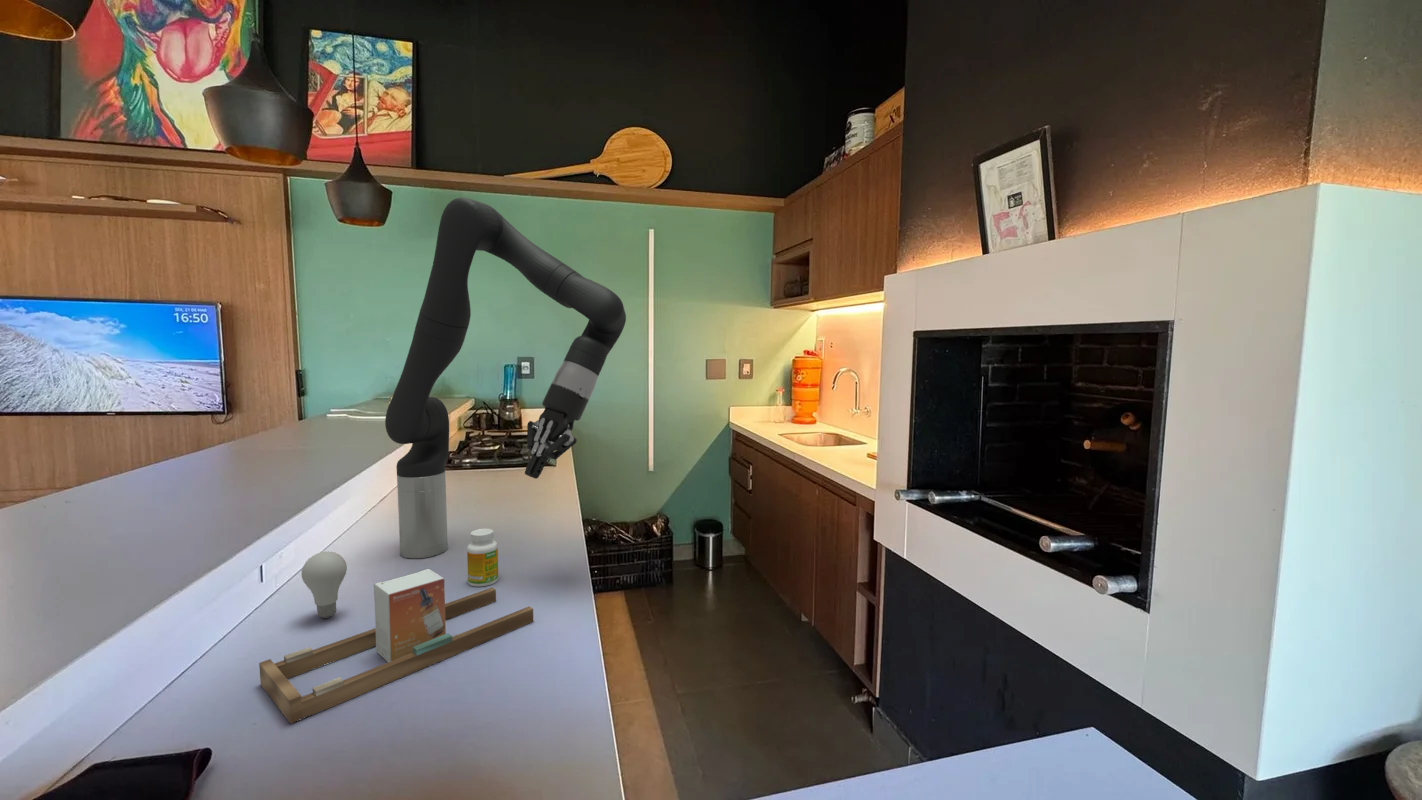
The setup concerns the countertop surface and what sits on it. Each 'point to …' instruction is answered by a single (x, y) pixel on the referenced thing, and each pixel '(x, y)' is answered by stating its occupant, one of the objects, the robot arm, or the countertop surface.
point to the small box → (408, 613)
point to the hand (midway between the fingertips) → (530, 476)
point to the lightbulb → (324, 580)
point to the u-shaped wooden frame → (422, 656)
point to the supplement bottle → (482, 558)
